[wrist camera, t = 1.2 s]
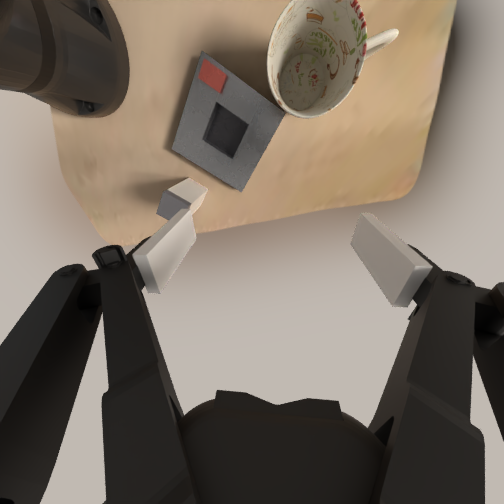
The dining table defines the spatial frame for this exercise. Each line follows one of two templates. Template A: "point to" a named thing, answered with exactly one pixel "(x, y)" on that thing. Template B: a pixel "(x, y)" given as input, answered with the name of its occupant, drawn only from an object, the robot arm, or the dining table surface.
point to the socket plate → (225, 124)
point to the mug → (319, 54)
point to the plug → (181, 198)
